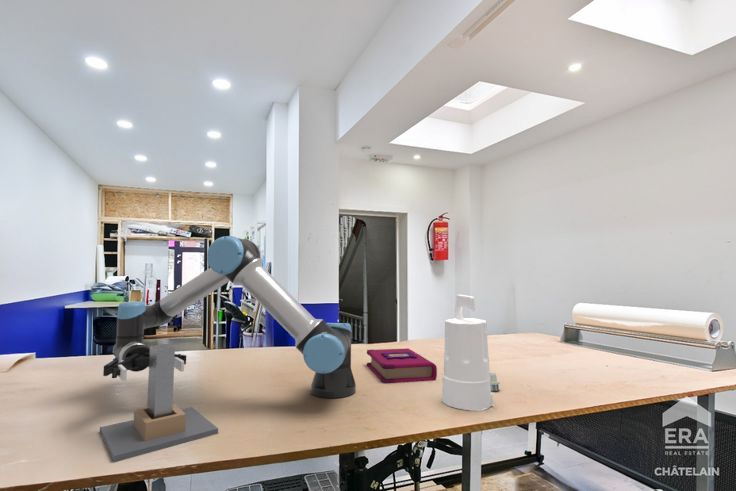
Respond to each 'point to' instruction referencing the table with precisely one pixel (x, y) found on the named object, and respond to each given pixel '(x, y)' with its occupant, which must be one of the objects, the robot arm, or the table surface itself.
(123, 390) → the table surface
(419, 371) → the book
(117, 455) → the slotted post base
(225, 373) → the table surface
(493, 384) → the toothbrush head
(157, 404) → the grey rectangular post
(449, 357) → the white pump bottle
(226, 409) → the table surface
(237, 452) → the table surface
